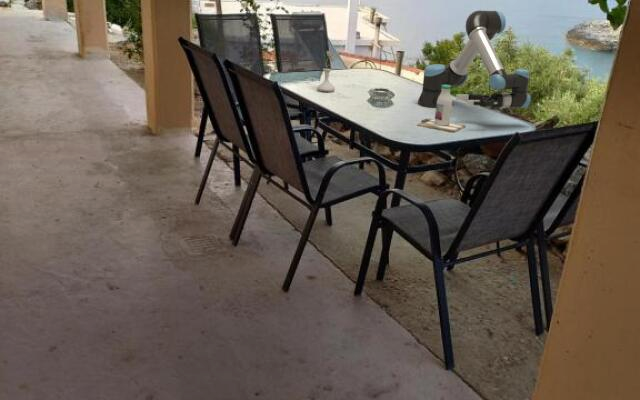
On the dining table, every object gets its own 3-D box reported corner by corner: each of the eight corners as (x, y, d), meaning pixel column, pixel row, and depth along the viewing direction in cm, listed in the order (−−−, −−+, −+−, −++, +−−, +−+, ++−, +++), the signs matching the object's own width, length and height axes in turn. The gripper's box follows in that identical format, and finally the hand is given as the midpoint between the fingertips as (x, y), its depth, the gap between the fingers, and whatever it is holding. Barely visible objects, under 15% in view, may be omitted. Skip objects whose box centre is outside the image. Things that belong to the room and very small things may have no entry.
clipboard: (429, 120, 315) (430, 116, 314) (465, 126, 305) (466, 123, 304) (416, 125, 303) (417, 122, 302) (453, 132, 292) (454, 129, 292)
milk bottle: (447, 122, 307) (452, 84, 300) (450, 126, 300) (455, 87, 292) (432, 122, 307) (437, 83, 299) (435, 125, 300) (440, 86, 292)
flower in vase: (335, 93, 370) (337, 52, 361) (316, 92, 370) (318, 51, 361) (334, 89, 382) (337, 50, 373) (317, 88, 382) (319, 49, 373)
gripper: (510, 113, 294) (470, 112, 290) (488, 102, 317) (451, 101, 313) (513, 98, 292) (473, 97, 288) (490, 88, 314) (453, 87, 310)
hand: (461, 99), depth 300 cm, fingers open, 13 cm apart
